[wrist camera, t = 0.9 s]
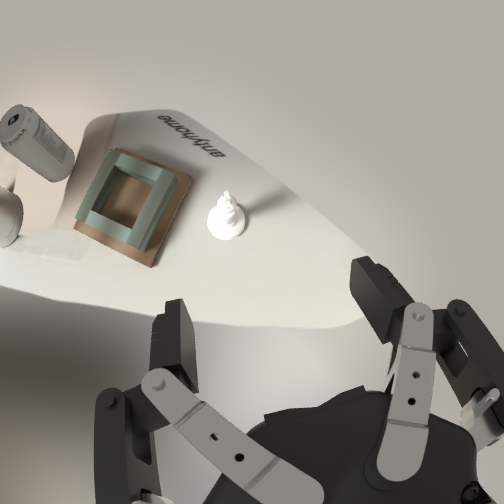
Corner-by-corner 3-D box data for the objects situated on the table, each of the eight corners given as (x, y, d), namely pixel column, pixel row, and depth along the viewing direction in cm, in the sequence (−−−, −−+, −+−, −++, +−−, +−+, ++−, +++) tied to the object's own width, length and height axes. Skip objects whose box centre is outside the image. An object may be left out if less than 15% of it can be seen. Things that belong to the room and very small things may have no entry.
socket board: (76, 229, 35) (63, 223, 31) (117, 150, 37) (108, 138, 33) (151, 267, 36) (143, 265, 32) (193, 179, 38) (190, 167, 34)
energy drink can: (46, 158, 36) (-4, 115, 21) (75, 143, 37) (30, 92, 22) (48, 190, 36) (-9, 152, 21) (78, 175, 36) (26, 128, 22)
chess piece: (210, 243, 37) (206, 225, 27) (204, 206, 38) (198, 178, 28) (248, 236, 38) (257, 217, 28) (241, 200, 38) (247, 170, 28)
